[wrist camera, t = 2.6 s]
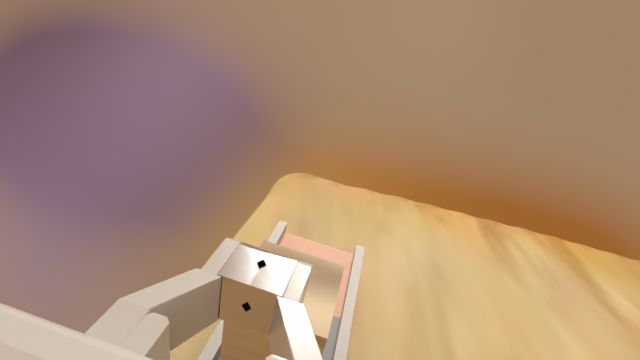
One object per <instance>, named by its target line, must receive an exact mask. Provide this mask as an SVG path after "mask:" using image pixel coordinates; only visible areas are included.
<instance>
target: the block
mask: <svg viewBox="0 0 640 360" xmlns="http://www.w3.org/2000/svg"><path fill="white" fill-rule="evenodd" d="M260 249H263V250H266V251H269V252H272V253H275V254H279V255H282V256H285V257H288V258H291V259H295V260H298V261H302V262H305V263H308V264H311V265H313V268H312V272H311V276H310V280H309V283H308V287H307V291H306V294H305V298H304V301H303V304H304V306H305V308H306V311H307V314H308V317H309V320H310V323H311V326H312V329H313V332H314V335H315V338H316V341H317V344H318V347H319V350H320V353H321V356H322V354H323V351H324V348H325V345H326V342H327V339H328V335H329V331H330V326H331V322H332V318H333V313H334V309H335V305H336V300H337V296H338V292H339V288H340V283H341V279H342V275H343V270H344V265H341V264H338V263H334V262H331V261H328V260H325V259H322V258H319V257H316V256H312V255H309V254H306V253H303V252H300V251H297V250H294V249H291V248H287V247H284V246H281V245H278V244H275V243H272V242H269V241H265V240H264V241H263V243H262V245H261V246H260ZM268 337H269V336H267V335H264V334H262V333H259V332H257V331H254V330H251V329H249V328H246V327H243V326H240V325H237V324H234V323H231V322H228V321H225V320H224V323H223V333H222V343H221V353H220V360H265V359H266V357H268V356H270V355H271V351H270V345H269V339H268Z"/></svg>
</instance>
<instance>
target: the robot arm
mask: <svg viewBox="0 0 640 360" xmlns="http://www.w3.org/2000/svg"><path fill="white" fill-rule="evenodd" d="M312 268H313V265H311V264H308V263H305V262H302V261H298V260H295V259H291V258H288V257H285V256H282V255H279V254H275V253H272V252H269V251H266V250H263V249H260V248H257V247H254V246H252V245H249V244H246V243H243V242H239V241H236V240H233V239H230V238H226V239H225V240H224V241H223V242H222V243H221V244H220V246H219V247H218V248H217V249H216V251H215V252H214V253H213V254H212V256H211V257H210V258H209V259H208V261H207V262H206V263H205V264H204V266H203V267H202V268H201V269H197V268H195V269H193V270H190V271H188V272H185V273H183V274H180V275H178V276H175V277H173V278H170V279H168V280H165V281H163V282H160V283H158V284H155V285H153V286H150V287H148V288H145V289H143V290H140V291H138V292H135V293H133V294H130V295H128V296H125V297H123V298H120V299H119V300H118V301H117V302H116V303H115V304H114V305H113V306H112V307H111V308H110V309H109V310H108V311H107V312H106V313H105V314H104V315H103V316H102V317H101V318H100V319H99V320H98V321H97V322H96V323H95V324H94V325H93V326H92V327H91V328H90V329H89V330H88V331H87V332H86V333H85V334H83V333H80V332H77V331H75V330H72V329H69V328H67V327H64V326H61V325H58V324H55V323H53V322H50V321H48V320H45V319H42V318H40V317H37V316H34V315H31V314H28V313H26V312H23V311H21V310H18V309H15V308H12V307H10V306H7V305H4V304H2V303H0V360H170V351H171V350H173V349H174V348H176V347H177V346H179V345H180V344H182V343H183V342H185V341H186V340H188V339H189V338H191V337H193V336H194V335H196V334H197V333H199V332H200V331H202V330H203V329H205V328H206V327H208V326H209V325H211V324H212V323H214V322H215V321H217V320H218V319H221V320H225V321H228V322H231V323H234V324H237V325H240V326H243V327H246V328H249V329H251V330H254V331H257V332H259V333H262V334H264V335H267V336H269V337H268V339H269V345H270V351H271V355H270V356H268V357H266V359H265V360H323V359H322V356H321V353H320V350H319V347H318V344H317V341H316V338H315V335H314V332H313V329H312V326H311V323H310V320H309V317H308V314H307V311H306V308H305V306H304V304H303V301H304V298H305V294H306V291H307V287H308V283H309V280H310V276H311V272H312Z"/></svg>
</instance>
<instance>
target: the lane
mask: <svg viewBox="0 0 640 360" xmlns="http://www.w3.org/2000/svg"><path fill="white" fill-rule="evenodd" d="M286 227H287V223H285V222H282V221H279V223H278V224H277V226H276V228H275V230H274V231H273V233H272V235H271V236H270V238H269V240H268V241H269V242H272V243H275V244H278V245H281V246H284V247H287V248H291V249H294V250H297V251H300V252H303V253H306V254H309V255H312V256H316V257H319V258H322V259H325V260H328V261H331V262H334V263H338V264H341V265H344V270H343V275H342V279H341V283H340V288H339V292H338V296H337V300H336V305H335V309H334V313H333V318H332V322H331V326H330V331H329V335H328V339H327V342H326V345H325V348H324V351H323V354H322V359H323V360H346V357H347V351H348V345H349V339H350V332H351V326H352V320H353V314H354V308H355V302H356V296H357V290H358V284H359V278H360V272H361V266H362V260H363V254H364V248H365V247H362V246H359V245H356V248H355V251H354V254H352V253H349V252H346V251H343V250H340V249H337V248H333V247H330V246H327V245H324V244H321V243H317V242H314V241H311V240H308V239H305V238H302V237H298V236H295V235H292V234H289V233H286ZM223 323H224V320H221V321H220V323H219V324H218V326H217V328H216V329H215V331H214V333H213V334H212V336H211V338H210V339H209V341H208V343H207V345H206V346H205V348H204V350H203V351H202V353H201V355H200V356H199V358H198V360H220V353H221V343H222V333H223Z"/></svg>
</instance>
